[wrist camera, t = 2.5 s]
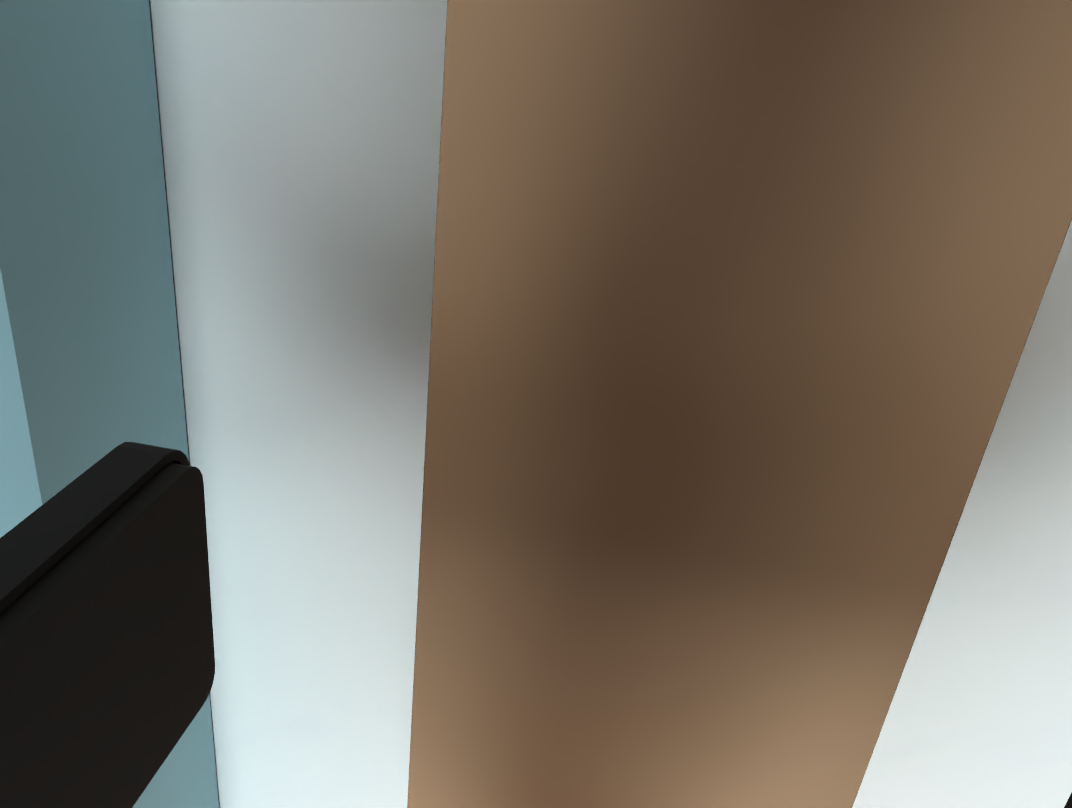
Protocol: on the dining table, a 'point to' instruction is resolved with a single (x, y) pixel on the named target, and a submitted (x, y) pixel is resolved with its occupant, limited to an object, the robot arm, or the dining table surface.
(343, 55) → the dining table surface
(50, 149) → the block
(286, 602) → the dining table surface
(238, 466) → the dining table surface
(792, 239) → the pallet
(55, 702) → the robot arm
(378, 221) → the dining table surface
